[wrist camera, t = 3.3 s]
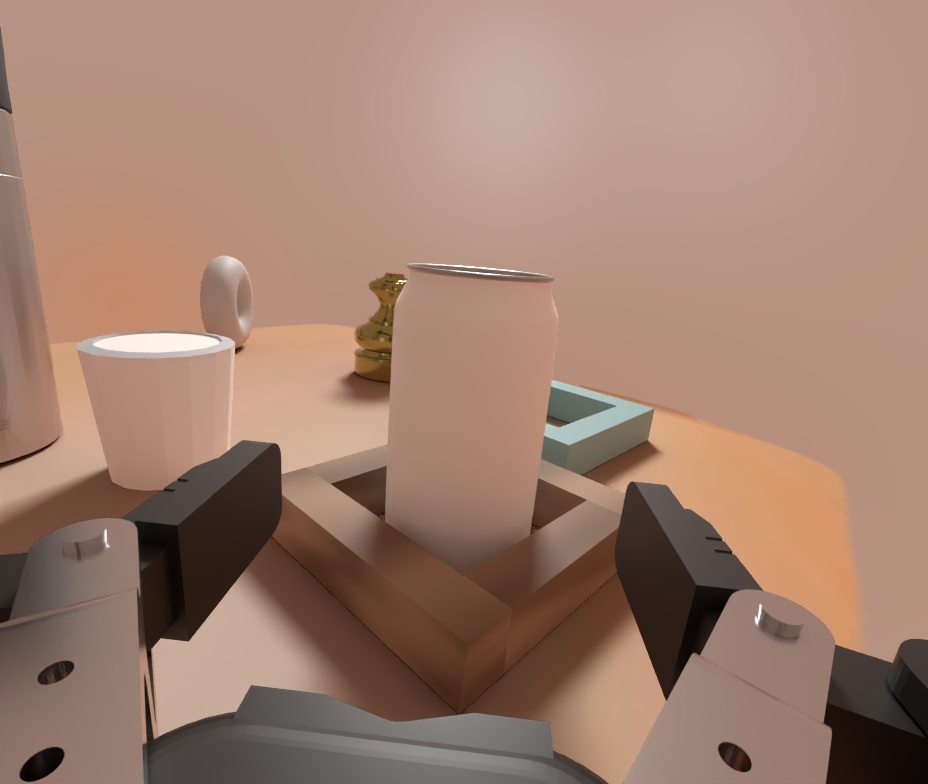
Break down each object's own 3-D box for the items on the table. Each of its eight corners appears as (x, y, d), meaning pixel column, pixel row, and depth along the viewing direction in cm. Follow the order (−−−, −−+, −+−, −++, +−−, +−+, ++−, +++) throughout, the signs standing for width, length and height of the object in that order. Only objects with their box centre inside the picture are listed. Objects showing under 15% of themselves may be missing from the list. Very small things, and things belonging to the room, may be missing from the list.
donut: (228, 339, 58) (223, 253, 56) (258, 340, 59) (255, 255, 56) (198, 357, 49) (190, 255, 46) (234, 359, 49) (229, 258, 47)
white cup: (106, 449, 28) (89, 328, 26) (237, 437, 31) (231, 328, 29) (81, 507, 22) (57, 357, 20) (245, 485, 25) (239, 353, 23)
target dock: (425, 424, 36) (427, 392, 35) (522, 398, 45) (525, 372, 44) (563, 484, 28) (569, 445, 28) (648, 439, 37) (654, 408, 36)
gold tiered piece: (416, 364, 54) (421, 272, 51) (435, 383, 47) (443, 278, 45) (349, 364, 51) (350, 268, 49) (359, 384, 45) (362, 273, 42)
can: (463, 493, 26) (484, 266, 23) (557, 553, 22) (600, 280, 18) (356, 530, 22) (363, 259, 19) (444, 614, 18) (473, 275, 14)
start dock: (265, 530, 21) (263, 479, 21) (454, 462, 30) (457, 424, 29) (459, 714, 14) (466, 643, 13) (639, 552, 22) (649, 503, 22)
